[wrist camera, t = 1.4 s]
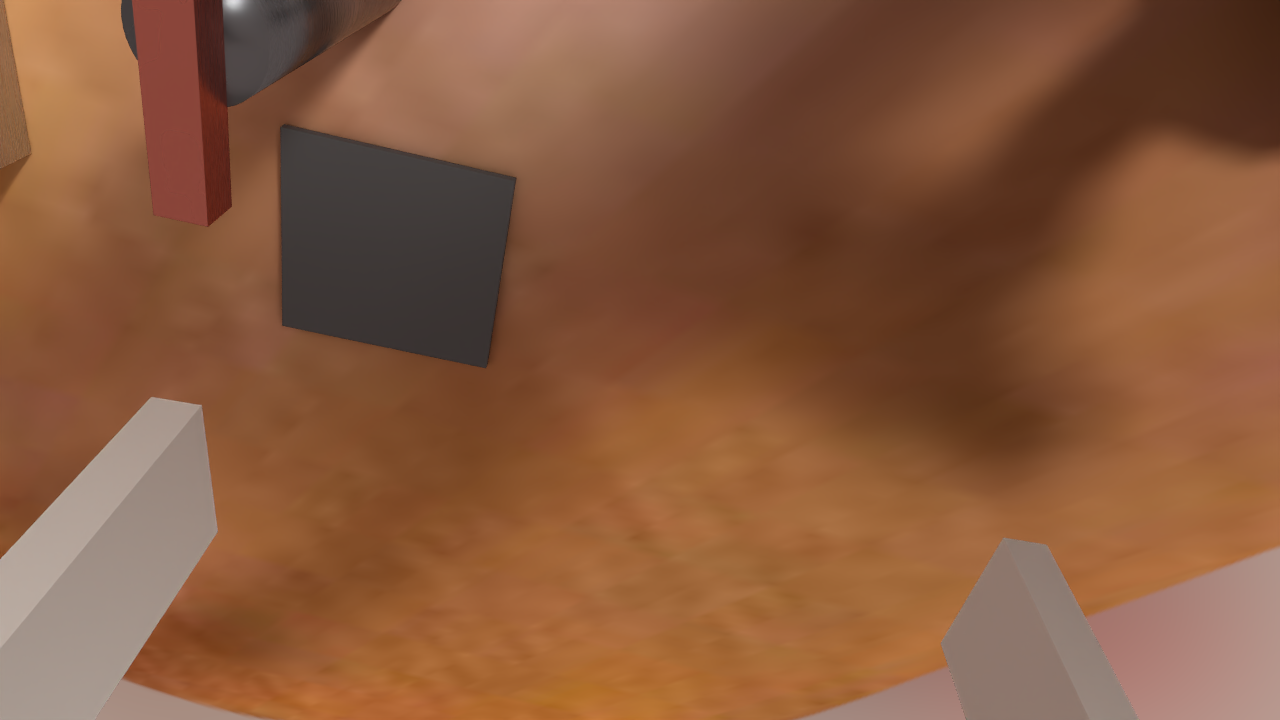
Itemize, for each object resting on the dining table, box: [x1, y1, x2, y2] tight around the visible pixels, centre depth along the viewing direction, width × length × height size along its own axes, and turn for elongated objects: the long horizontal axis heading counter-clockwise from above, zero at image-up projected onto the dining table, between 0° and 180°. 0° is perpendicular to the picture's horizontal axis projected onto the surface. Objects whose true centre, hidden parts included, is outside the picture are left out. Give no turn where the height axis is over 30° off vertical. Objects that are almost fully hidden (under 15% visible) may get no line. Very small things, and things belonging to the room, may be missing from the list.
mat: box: [280, 124, 516, 368], centre depth 38 cm, size 10×10×1 cm
